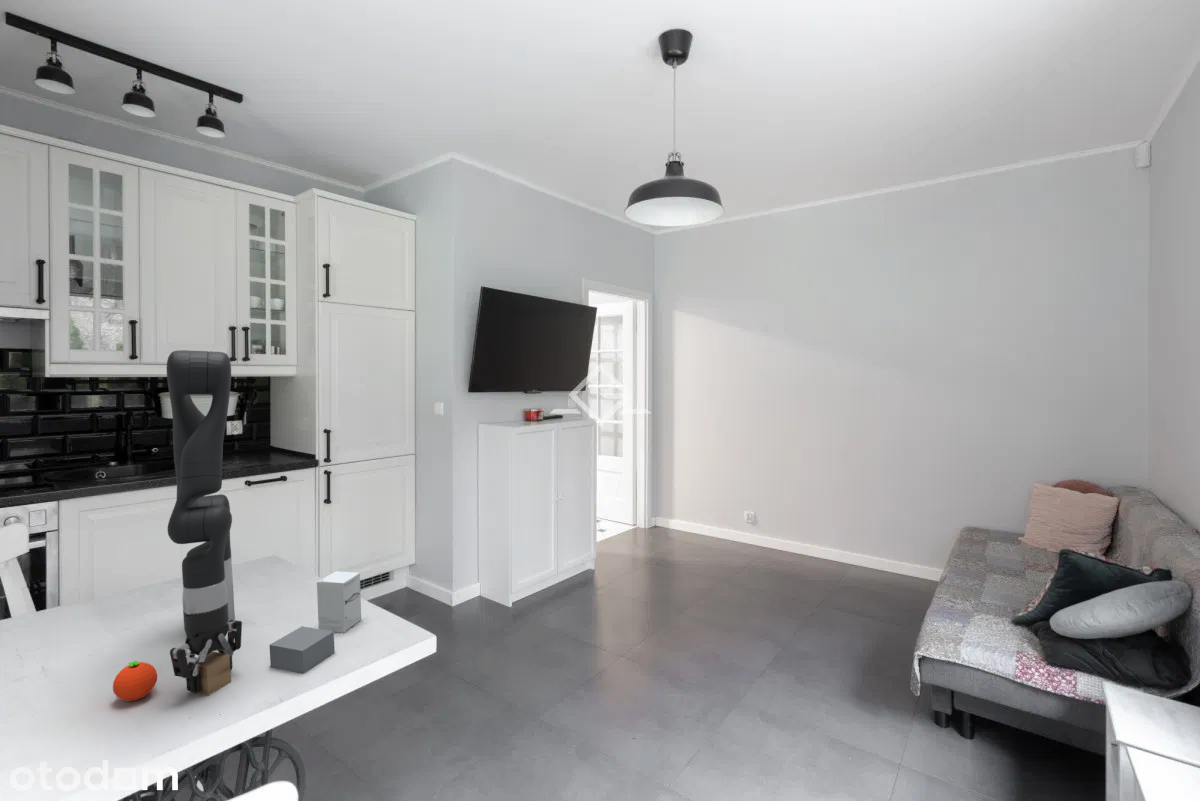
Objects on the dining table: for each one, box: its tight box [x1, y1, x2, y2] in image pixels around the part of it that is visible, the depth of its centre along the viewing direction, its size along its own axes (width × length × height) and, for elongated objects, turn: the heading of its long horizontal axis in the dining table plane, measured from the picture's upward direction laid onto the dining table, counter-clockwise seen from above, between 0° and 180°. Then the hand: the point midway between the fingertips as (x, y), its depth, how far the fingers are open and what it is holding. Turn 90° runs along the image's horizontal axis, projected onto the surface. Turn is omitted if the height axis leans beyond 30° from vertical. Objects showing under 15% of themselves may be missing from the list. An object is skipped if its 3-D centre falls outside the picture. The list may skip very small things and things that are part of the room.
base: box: [269, 625, 336, 674], centre depth 129 cm, size 9×9×5 cm
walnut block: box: [192, 651, 232, 697], centre depth 119 cm, size 5×5×6 cm
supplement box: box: [316, 570, 362, 634], centre depth 145 cm, size 7×7×13 cm
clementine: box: [112, 660, 158, 702], centre depth 115 cm, size 8×7×7 cm
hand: (210, 682), depth 119 cm, fingers open, 6 cm apart
